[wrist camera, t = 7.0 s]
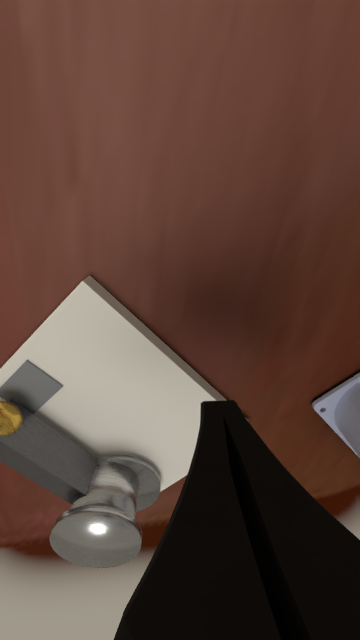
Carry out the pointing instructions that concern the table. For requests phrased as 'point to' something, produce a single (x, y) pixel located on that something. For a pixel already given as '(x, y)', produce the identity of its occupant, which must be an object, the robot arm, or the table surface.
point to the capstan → (81, 489)
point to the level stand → (109, 383)
